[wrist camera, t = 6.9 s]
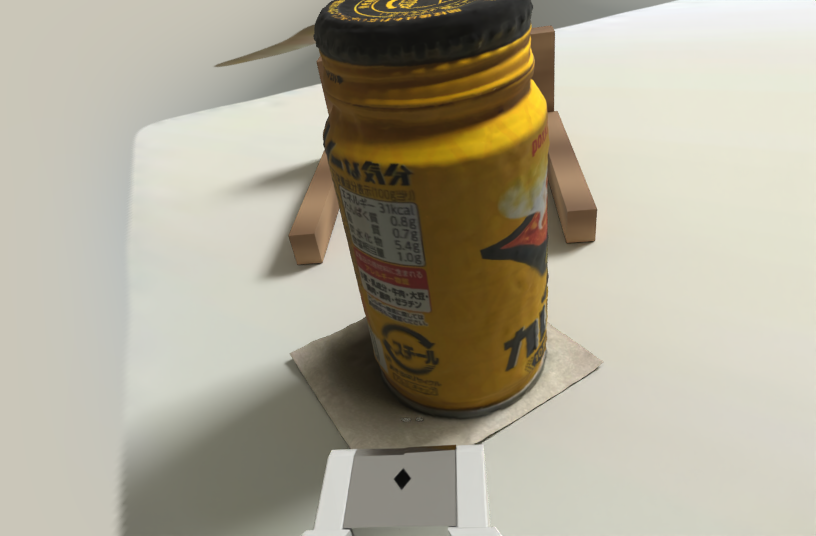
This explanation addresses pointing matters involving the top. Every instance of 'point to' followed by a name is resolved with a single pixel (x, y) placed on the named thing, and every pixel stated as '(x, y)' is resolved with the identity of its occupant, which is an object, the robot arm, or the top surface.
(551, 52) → the corral
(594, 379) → the top surface
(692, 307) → the top surface
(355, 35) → the condiment
